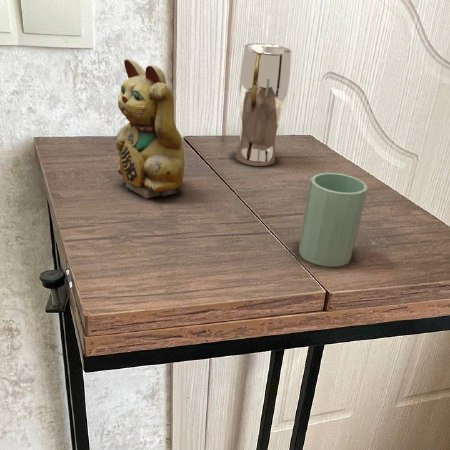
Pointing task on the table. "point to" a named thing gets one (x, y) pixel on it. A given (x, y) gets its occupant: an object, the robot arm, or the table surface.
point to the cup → (332, 218)
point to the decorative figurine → (149, 134)
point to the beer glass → (261, 101)
